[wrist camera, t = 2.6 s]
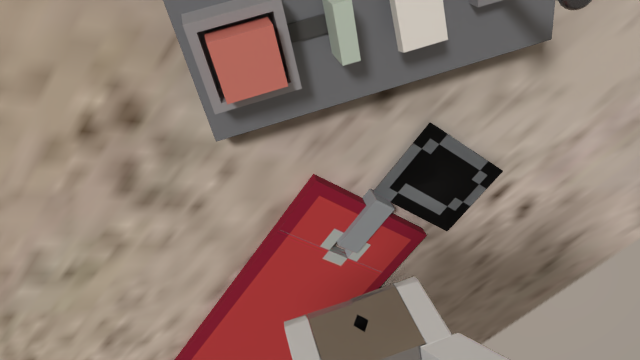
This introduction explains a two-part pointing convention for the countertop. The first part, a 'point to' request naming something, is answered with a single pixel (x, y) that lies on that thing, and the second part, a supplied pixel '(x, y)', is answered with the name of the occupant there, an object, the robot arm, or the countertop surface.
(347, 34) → the upright sage green cuboid
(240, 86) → the red push button
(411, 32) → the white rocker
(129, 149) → the countertop surface
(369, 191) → the red board with handle
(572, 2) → the toggle lever
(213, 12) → the control panel
